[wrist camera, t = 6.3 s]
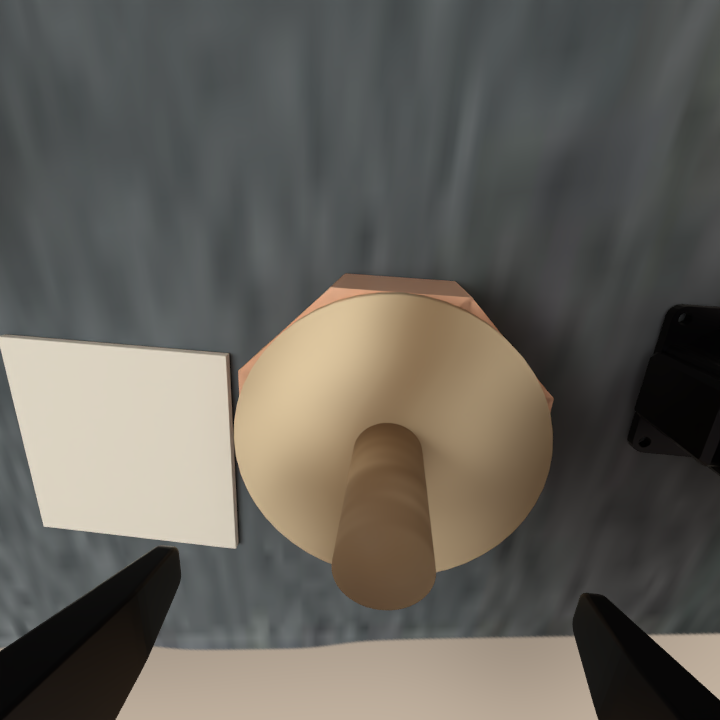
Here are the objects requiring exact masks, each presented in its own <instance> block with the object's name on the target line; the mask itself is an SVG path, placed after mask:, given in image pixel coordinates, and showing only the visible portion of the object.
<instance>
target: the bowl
mask: <svg viewBox="0 0 720 720" xmlns="http://www.w3.org/2000/svg"><path fill="white" fill-rule="evenodd" d="M377 292H404V293H411V294H418V295H425V296H428V297H432V298H436V299H439V300H443V301H446V302H449V303H451V304H453V305H456V306H458V307H460V308H463V309H465V310H467V311H469V312H470V313H472V314H474V315H475V316H477V317H479V318H480V319H482V320H484V321H485V322H487V323H488V324H489V325H490V326H492V327H493V328H494V329H495V330H496V331H498V332H499V330H498V329H497V328H496V327H495V325H494V324H493V323H492V322H491V321H490V319H489V318H488V317H487V316H486V314H485V313H484V312H483V311H482V309H481V308H480V307H479V306H478V304H477V303H476V302H475V301H474V299H473V297H471V296H470V295H469V294H468V293H467V292H466V291H465V290H464V289H463V288H462V287H461V286H460V285H459V284H458V283H457V282H456V281H445V280H430V279H416V278H402V277H388V276H374V275H360V274H346V273H345V274H344V275H343V276H342V277H341V278H340V279H338V280H337V281H336V282H335V283H334V284H333V285H332V286H331V287H330V288H329V289H328V290H327V291H326V292H325V293H323V294H322V295H321V296H320V297H319V298H318V299H317V300H316V301H315V302H314V303H312V304H311V305H310V306H309V307H308V308H307V309H306V310H305V311H304V312H303V313H301V314H300V315H299V316H298V317H297V318H296V319H295V320H294V321H293V322H292V323H290V324H289V325H288V326H287V327H286V328H285V329H284V330H283V331H285V330H286V329H287V328H288V327H290V326H291V325H292V324H294V323H295V322H296V321H297V320H299V319H300V318H302V317H303V316H305V315H307V314H309V313H310V312H312V311H314V310H316V309H317V308H320V307H322V306H324V305H327V304H329V303H332V302H334V301H337V300H340V299H344V298H348V297H352V296H356V295H361V294H369V293H377ZM283 331H282V332H283ZM282 332H281V333H282ZM281 333H279V334H278V335H277V336H276V337H275V338H274V339H273V340H271V341H270V342H269V343H268V344H267V345H266V346H265V347H264V348H263V349H261V350H260V351H259V352H258V353H257V354H256V355H255V356H254V357H253V358H252V359H251V360H249V361H248V362H247V363H246V364H245V365H244V366H243V367H242V368H241V369H240V370H238V374H239V396H240V393H241V390H242V387H243V384H244V383H245V381H246V379H247V377H248V375H249V373H250V371H251V369H252V367H253V366H254V364H255V363H256V361H257V360H258V359H259V357H260V356H261V354H262V353H263V352H264V351H265V350H266V349H267V348H268V346H269V345H270V344H271V343H272V342H273V341H274V340H275V339H276V338H277V337H278V336H279V335H280V334H281ZM499 333H500V332H499ZM500 334H501V333H500ZM501 335H502V334H501ZM502 336H503V335H502ZM537 380H538V379H537ZM538 382H539V384H540V386H541V388H542V390H543V392H544V395H545V398H546V401H547V404H548V408H549V411H550V412H551V408H552V404H553V400H554V398H553V397H552V396H551V395H550V394H549V392H548V391H547V390H546V389H545V387H544V386H543V385H542V384H541V382H540V381H539V380H538Z"/></svg>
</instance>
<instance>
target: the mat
mask: <svg viewBox="0 0 720 720" xmlns="http://www.w3.org/2000/svg"><path fill="white" fill-rule="evenodd" d="M0 348H1V352H2V356H3V360H4V364H5V368H6V373H7V377H8V381H9V385H10V389H11V393H12V397H13V401H14V406H15V410H16V414H17V418H18V422H19V426H20V430H21V434H22V438H23V443H24V447H25V451H26V455H27V459H28V463H29V467H30V471H31V475H32V480H33V484H34V488H35V492H36V496H37V500H38V504H39V508H40V513H41V517H42V521H43V525H44V526H45V527H54V528H62V529H71V530H80V531H88V532H97V533H105V534H114V535H123V536H131V537H140V538H148V539H157V540H166V541H174V542H183V543H191V544H200V545H208V546H217V547H226V548H234V549H236V547H237V545H238V543H239V542H238V522H237V501H236V481H235V461H234V440H233V420H232V400H231V379H230V359H229V353H218V352H206V351H195V350H183V349H171V348H159V347H147V346H136V345H124V344H112V343H100V342H89V341H77V340H65V339H53V338H42V337H30V336H18V335H6V334H5V335H2V336H0Z"/></svg>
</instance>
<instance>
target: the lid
mask: <svg viewBox="0 0 720 720" xmlns="http://www.w3.org/2000/svg"><path fill="white" fill-rule="evenodd" d="M234 444H235V452H236V458H237V462H238V466H239V469H240V473H241V475H242V478H243V480H244V483H245V485H246V488H247V490H248V491H249V493H250V495H251V497H252V498H253V500H254V502H255V504H256V505H257V506H258V508H259V509H260V510H261V512H262V513H263V514H264V516H265V517H266V518H267V519H268V521H269V522H270V523H271V524H272V525H273V526H274V527H275V528H276V529H277V530H278V531H279V532H280V533H282V534H283V535H284V536H285V537H286V538H288V539H289V540H290V541H291V542H292V543H294V544H295V545H297V546H298V547H300V548H301V549H303V550H304V551H306V552H308V553H309V554H311V555H313V556H315V557H317V558H319V559H321V560H323V561H325V562H328V563H331V564H332V574H333V577H334V580H335V582H336V584H337V586H338V587H339V588H340V590H341V591H342V592H343V593H344V594H345V595H346V596H347V597H349V598H350V599H352V600H353V601H355V602H357V603H358V604H360V605H363V606H366V607H369V608H372V609H378V610H397V609H402V608H406V607H409V606H411V605H413V604H416V603H417V602H419V601H420V600H422V599H423V598H424V597H425V596H426V595H427V594H428V593H429V592H430V590H431V589H432V587H433V585H434V582H435V578H436V572H439V571H443V570H447V569H451V568H453V567H456V566H459V565H462V564H464V563H467V562H469V561H471V560H473V559H475V558H477V557H479V556H481V555H483V554H485V553H486V552H488V551H489V550H491V549H492V548H494V547H495V546H497V545H498V544H500V543H501V542H502V541H503V540H504V539H505V538H507V537H508V536H509V535H510V534H511V533H513V531H514V530H515V529H516V528H517V527H518V526H519V525H520V524H521V523H522V522H523V521H524V519H525V518H526V517H527V515H528V514H529V512H530V511H531V509H532V508H533V507H534V505H535V504H536V502H537V500H538V498H539V496H540V494H541V492H542V490H543V488H544V485H545V482H546V479H547V476H548V473H549V470H550V464H551V458H552V452H553V430H552V423H551V416H550V411H549V408H548V404H547V401H546V398H545V395H544V392H543V390H542V388H541V386H540V384H539V382H538V380H537V378H536V376H535V374H534V373H533V371H532V370H531V368H530V367H529V365H528V364H527V362H526V361H525V359H524V358H523V357H522V356H521V355H520V354H519V353H518V351H517V350H516V349H515V348H514V347H513V346H512V345H511V344H510V343H509V342H508V341H507V340H506V339H505V338H504V337H503V336H502V335H501V334H500V333H499V332H498V331H496V330H495V329H494V328H493V327H492V326H490V325H489V324H488V323H487V322H485V321H484V320H482V319H480V318H479V317H477V316H475V315H474V314H472V313H470V312H469V311H467V310H465V309H463V308H460V307H458V306H456V305H453V304H451V303H449V302H446V301H443V300H439V299H436V298H432V297H428V296H425V295H418V294H411V293H404V292H377V293H369V294H361V295H356V296H352V297H348V298H344V299H340V300H337V301H334V302H332V303H329V304H327V305H324V306H322V307H320V308H317V309H316V310H314V311H312V312H310V313H309V314H307V315H305V316H303V317H302V318H300V319H299V320H297V321H296V322H295V323H294V324H292V325H291V326H290V327H288V328H287V329H286V330H285V331H283V332H282V333H281V334H280V335H279V336H278V337H277V338H276V339H275V340H274V341H273V342H272V343H271V344H270V345H269V346H268V348H267V349H266V350H265V351H264V352H263V353H262V354H261V356H260V357H259V359H258V360H257V361H256V363H255V364H254V366H253V367H252V369H251V371H250V373H249V375H248V377H247V379H246V381H245V383H244V384H243V387H242V390H241V393H240V396H239V399H238V402H237V408H236V414H235V419H234Z"/></svg>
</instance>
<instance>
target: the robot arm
mask: <svg viewBox="0 0 720 720" xmlns="http://www.w3.org/2000/svg"><path fill="white" fill-rule="evenodd" d="M683 313H685V314H686V316H685V319H684V320H683V321H682V322H680V323H679V322H678V320H679V317H680V315H682V314H683ZM635 411H636V412H635V415H634V419H633V422H632V425H631V428H630V431H629V435H628V442H629V444H630V445H631V446H632V447H633V448H634V449H635V450H637V451H639V452H645V453H656V454H666V455H677V456H688V457H692V458H694V459H695V460H696V461H698V462H699V463H700V464H702V465H704V466H708V467H709V468H710V469H712V470H713V471H714V472H716V473H717V474H718V475H720V307H713V306H699V305H685V304H681V305H676V306H674V307H672V308H671V309H670V310H669V311H668V312H667V314H666V316H665V319H664V323H663V326H662V329H661V332H660V335H659V339H658V342H657V345H656V348H655V351H654V355H653V356H652V357H651V358H650V361H649V364H648V367H647V371H646V374H645V377H644V380H643V383H642V387H641V390H640V393H639V396H638V400H637V403H636V406H635ZM643 437H646V438H645V440H644V441H642V442H639V440H640V439H641V438H643ZM180 580H181V568H180V559H179V551H178V549H177V548H176V547H173V546H164V545H160V546H157V547H155V548H154V549H152V550H151V551H149V552H148V553H146V554H145V555H143V556H142V557H140V558H139V559H137V560H136V561H134V562H133V563H131V564H130V565H128V566H127V567H125V568H124V569H122V570H121V571H119V572H118V573H116V574H115V575H113V576H112V577H110V578H109V579H107V580H106V581H104V582H103V583H101V584H100V585H99V586H97V587H96V588H94V589H93V590H91V591H90V592H88V593H87V594H85V595H84V596H82V597H81V598H79V599H78V600H76V601H75V602H73V603H72V604H70V605H69V606H67V607H66V608H64V609H63V610H61V611H60V612H58V613H57V614H55V615H54V616H52V617H51V618H49V619H48V620H46V621H45V622H43V623H42V624H40V625H39V626H37V627H36V628H34V629H33V630H31V631H30V632H28V633H27V634H25V635H24V636H22V637H21V638H19V639H18V640H16V641H15V642H13V643H12V644H10V645H9V646H7V647H6V648H4V649H3V650H1V651H0V720H116V718H117V716H118V714H119V712H120V710H121V708H122V706H123V705H124V703H125V701H126V699H127V697H128V695H129V693H130V691H131V690H132V687H133V686H134V684H135V682H136V680H137V678H138V676H139V675H140V673H141V671H142V669H143V667H144V665H145V663H146V661H147V659H148V657H149V654H150V652H151V650H152V648H153V646H154V643H155V641H156V638H157V636H158V634H159V631H160V629H161V627H162V624H163V622H164V620H165V617H166V615H167V613H168V610H169V608H170V605H171V603H172V601H173V598H174V596H175V594H176V591H177V589H178V586H179V584H180ZM573 632H574V636H575V640H576V643H577V647H578V650H579V654H580V657H581V661H582V665H583V668H584V672H585V675H586V679H587V683H588V686H589V690H590V693H591V697H592V700H593V704H594V707H595V710H596V714H597V717H598V720H720V700H719V699H718V698H717V697H715V696H714V695H713V694H712V693H711V692H710V691H709V690H708V689H707V688H706V687H705V686H703V685H702V684H701V683H700V682H699V681H698V680H697V679H696V678H694V677H693V676H692V675H691V674H690V673H689V672H688V671H687V670H686V669H685V668H684V667H682V666H681V665H680V664H679V663H678V662H677V661H676V660H674V658H672V657H671V656H670V655H669V654H668V653H667V652H666V651H665V650H664V649H663V648H661V647H660V646H659V645H658V644H657V643H656V642H655V641H654V640H653V639H651V638H650V637H649V636H648V635H647V634H646V633H645V632H644V631H643V630H642V629H640V628H639V627H638V626H637V625H636V624H635V623H634V622H633V621H632V620H630V619H629V618H628V617H627V616H626V615H625V614H624V613H623V612H622V611H621V610H619V609H618V608H617V607H616V606H615V605H614V604H613V603H612V602H611V601H609V600H608V599H607V598H606V597H605V596H603V595H600V594H592V593H583V594H582V595H581V596H580V598H579V602H578V605H577V608H576V611H575V614H574V617H573Z"/></svg>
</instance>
